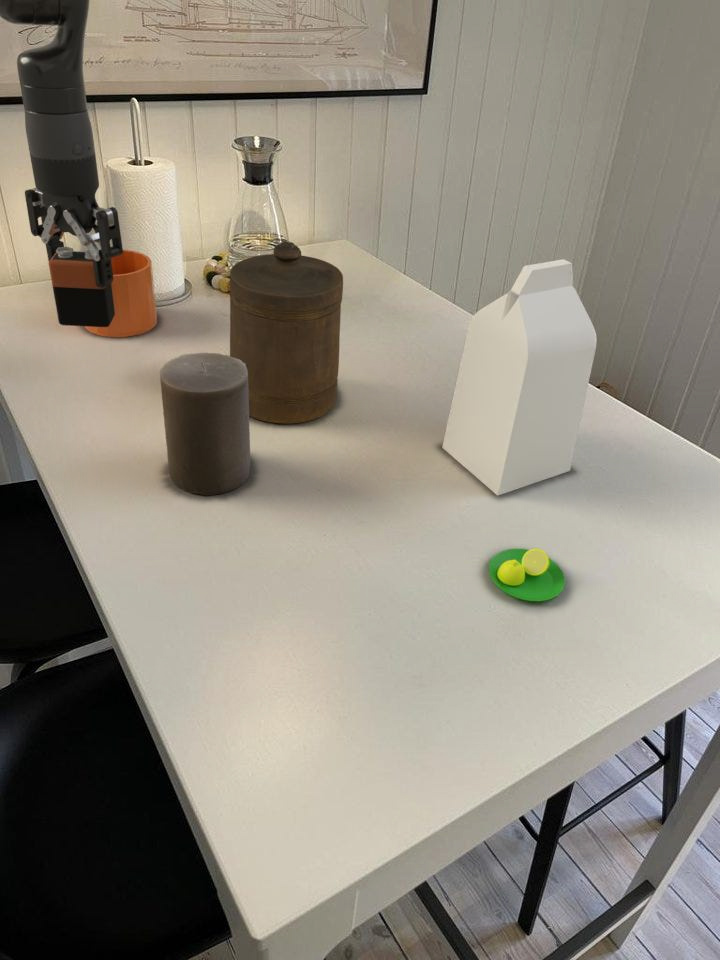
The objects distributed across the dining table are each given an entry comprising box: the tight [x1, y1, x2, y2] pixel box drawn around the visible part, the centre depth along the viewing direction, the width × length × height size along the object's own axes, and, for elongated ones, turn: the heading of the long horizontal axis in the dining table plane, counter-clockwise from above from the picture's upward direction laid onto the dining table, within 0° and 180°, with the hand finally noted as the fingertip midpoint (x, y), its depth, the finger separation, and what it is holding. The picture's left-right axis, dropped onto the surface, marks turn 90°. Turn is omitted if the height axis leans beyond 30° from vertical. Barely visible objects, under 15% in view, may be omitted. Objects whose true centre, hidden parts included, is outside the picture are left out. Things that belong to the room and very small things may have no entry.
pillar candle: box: [159, 352, 252, 496], centre depth 87 cm, size 10×10×15 cm
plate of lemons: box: [488, 547, 566, 602], centre depth 79 cm, size 8×8×3 cm
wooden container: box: [229, 241, 344, 424], centre depth 100 cm, size 15×15×22 cm
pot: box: [84, 248, 158, 338], centre depth 120 cm, size 11×11×10 cm
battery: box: [48, 246, 115, 327], centre depth 102 cm, size 4×7×10 cm, turn 93°
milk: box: [441, 258, 598, 496], centre depth 90 cm, size 12×12×26 cm
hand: (81, 277), depth 101 cm, fingers closed on battery, 8 cm apart
